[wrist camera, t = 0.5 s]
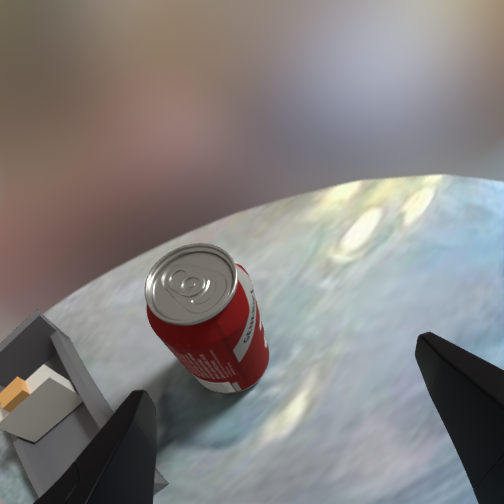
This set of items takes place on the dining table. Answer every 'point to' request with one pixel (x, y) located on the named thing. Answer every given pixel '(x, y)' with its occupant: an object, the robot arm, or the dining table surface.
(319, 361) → the dining table surface
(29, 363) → the tray
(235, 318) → the soda can
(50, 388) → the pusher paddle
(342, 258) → the dining table surface
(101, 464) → the robot arm
